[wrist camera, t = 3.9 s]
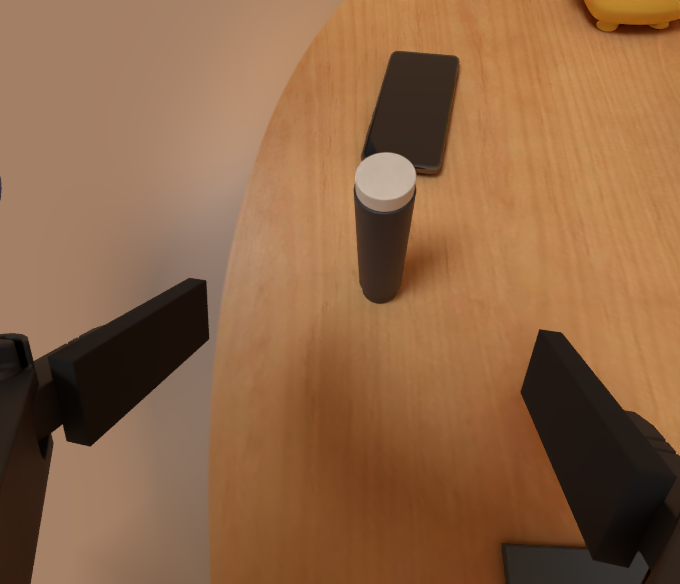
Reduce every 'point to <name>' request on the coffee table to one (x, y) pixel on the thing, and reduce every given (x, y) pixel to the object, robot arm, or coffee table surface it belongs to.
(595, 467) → the robot arm
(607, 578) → the pad
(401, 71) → the smartphone
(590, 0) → the teapot
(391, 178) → the dark grey capped cylinder
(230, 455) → the coffee table surface
